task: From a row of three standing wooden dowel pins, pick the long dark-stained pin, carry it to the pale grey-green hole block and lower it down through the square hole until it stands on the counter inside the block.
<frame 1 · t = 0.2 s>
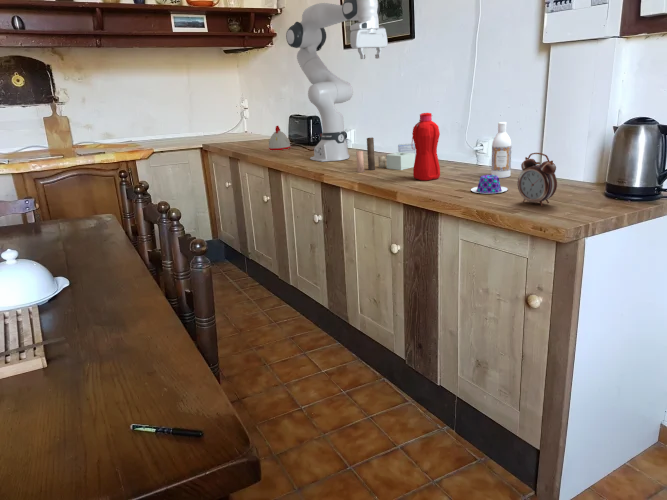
hand: (370, 58, 232), 47 cm above the table, fingers open, 8 cm apart
alarm clock: (536, 204, 152), on the table
hole block: (400, 167, 231), on the table
kitchen timer: (279, 149, 332), on the table
bath foam: (500, 176, 195), on the table
medicine box: (407, 163, 242), on the table
water bottle: (424, 179, 201), on the table
long pin: (371, 169, 231), on the table
medium pin: (360, 171, 228), on the table
short pin: (382, 167, 235), on the table
pudding: (488, 192, 174), on the table
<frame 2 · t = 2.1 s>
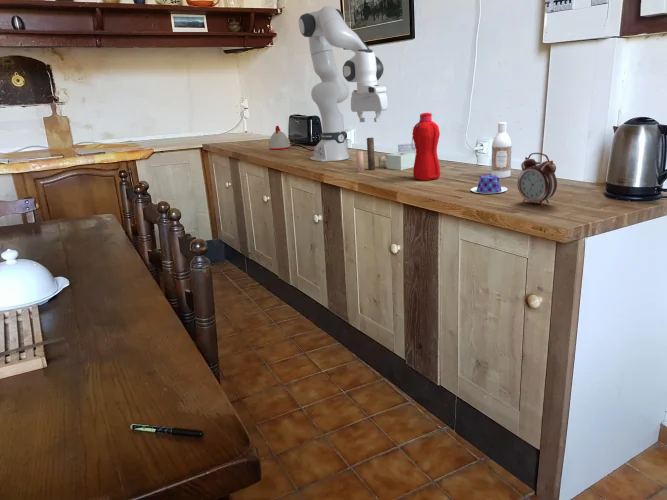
hand: (369, 122, 225), 21 cm above the table, fingers open, 8 cm apart
nothing on the table moved.
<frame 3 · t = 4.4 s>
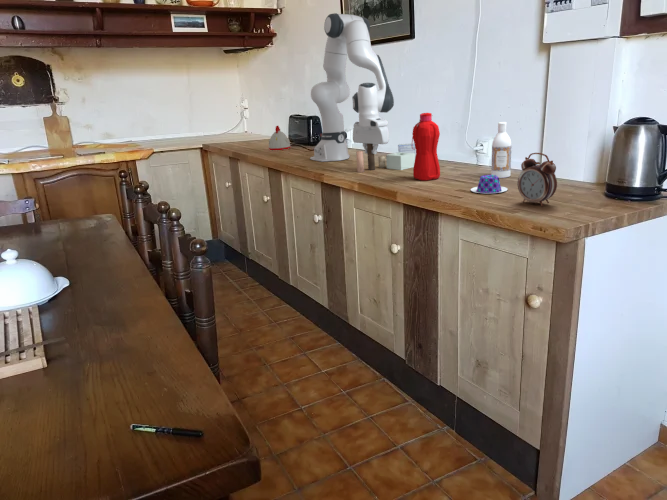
hand: (370, 153, 229), 7 cm above the table, fingers closed on long pin, 3 cm apart
long pin: (371, 169, 231), on the table, touching gripper
everything else where it was.
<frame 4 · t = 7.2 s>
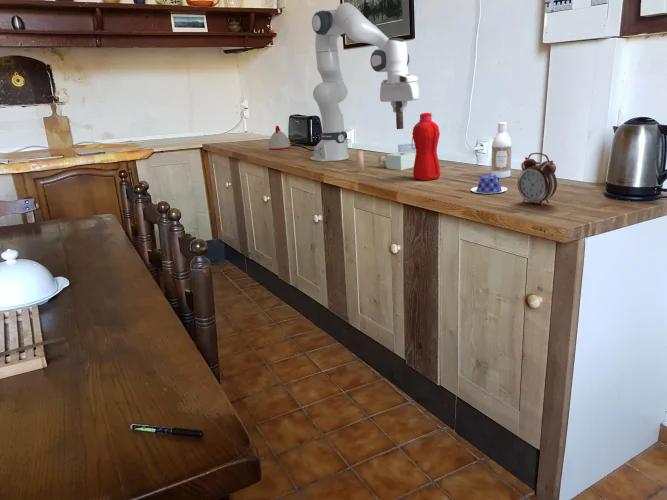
hand: (399, 112, 223), 24 cm above the table, fingers closed on long pin, 3 cm apart
long pin: (400, 128, 226), point 17 cm above the table, touching gripper
everything else where it was.
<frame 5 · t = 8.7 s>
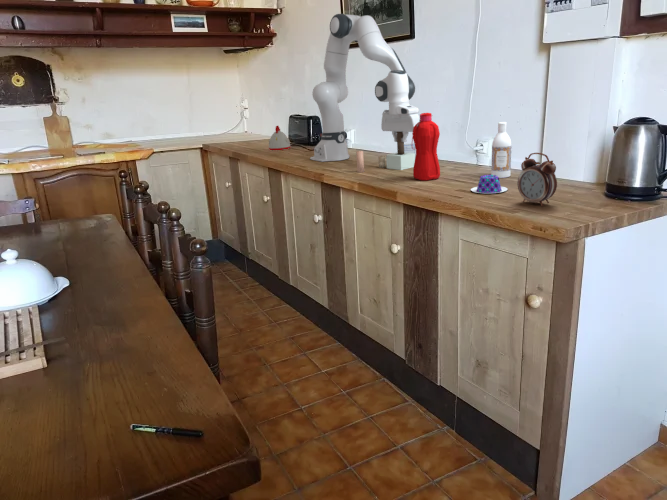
hand: (400, 141, 227), 11 cm above the table, fingers closed on long pin, 3 cm apart
long pin: (401, 157, 230), point 4 cm above the table, touching gripper
everything else where it was.
when the fingers open (8 cm above the table, at t = 10.0 s): long pin stays where it is, resting in hole block.
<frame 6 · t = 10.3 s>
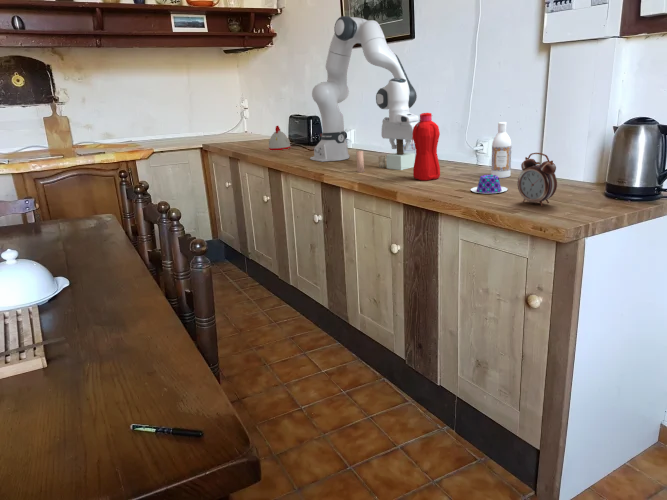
hand: (400, 149, 228), 8 cm above the table, fingers open, 6 cm apart
long pin: (400, 167, 231), resting in hole block
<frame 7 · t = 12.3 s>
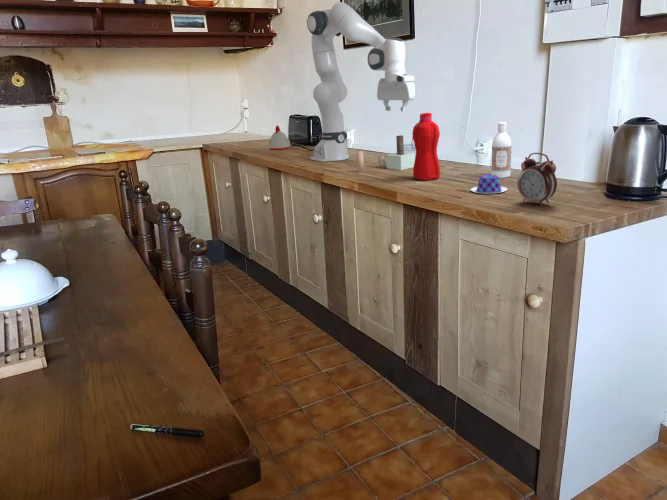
hand: (395, 111, 226), 25 cm above the table, fingers open, 8 cm apart
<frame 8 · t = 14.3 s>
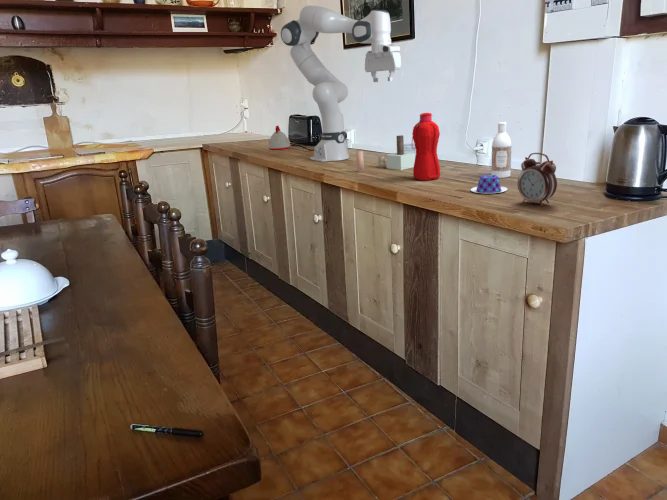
hand: (382, 81, 233), 37 cm above the table, fingers open, 8 cm apart
at the end: long pin 0.1 cm off-centre on the hole block, point 0.0 cm above the hole block's base; long pin tilted 0°; the gripper is holding nothing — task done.
